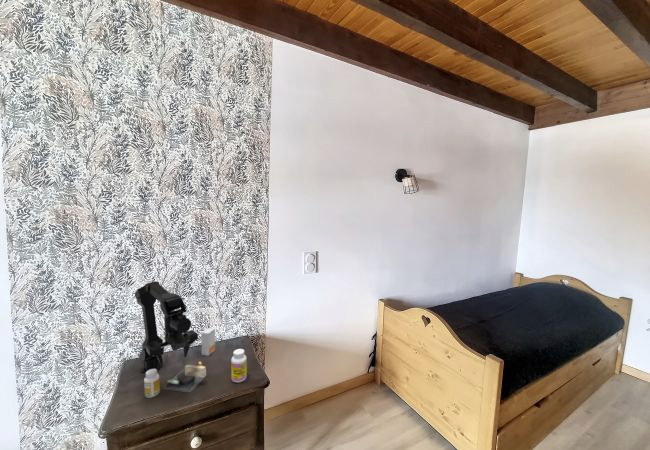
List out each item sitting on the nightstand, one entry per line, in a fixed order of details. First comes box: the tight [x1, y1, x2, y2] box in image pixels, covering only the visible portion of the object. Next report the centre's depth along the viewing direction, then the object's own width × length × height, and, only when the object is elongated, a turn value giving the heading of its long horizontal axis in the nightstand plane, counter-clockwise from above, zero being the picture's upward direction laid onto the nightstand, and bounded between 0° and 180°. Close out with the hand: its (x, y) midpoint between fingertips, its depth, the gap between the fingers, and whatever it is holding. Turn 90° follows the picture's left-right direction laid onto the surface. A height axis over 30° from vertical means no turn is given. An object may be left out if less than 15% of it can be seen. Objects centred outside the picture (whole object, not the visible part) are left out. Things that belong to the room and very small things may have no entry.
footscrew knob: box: [176, 364, 207, 384], centre depth 122 cm, size 12×7×6 cm, turn 81°
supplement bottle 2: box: [230, 348, 248, 384], centre depth 125 cm, size 7×7×13 cm
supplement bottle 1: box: [143, 369, 161, 399], centre depth 115 cm, size 5×5×10 cm
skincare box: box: [200, 327, 216, 356], centre depth 147 cm, size 6×4×12 cm
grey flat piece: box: [163, 360, 208, 393], centre depth 125 cm, size 12×17×4 cm
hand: (173, 361), depth 118 cm, fingers open, 9 cm apart
